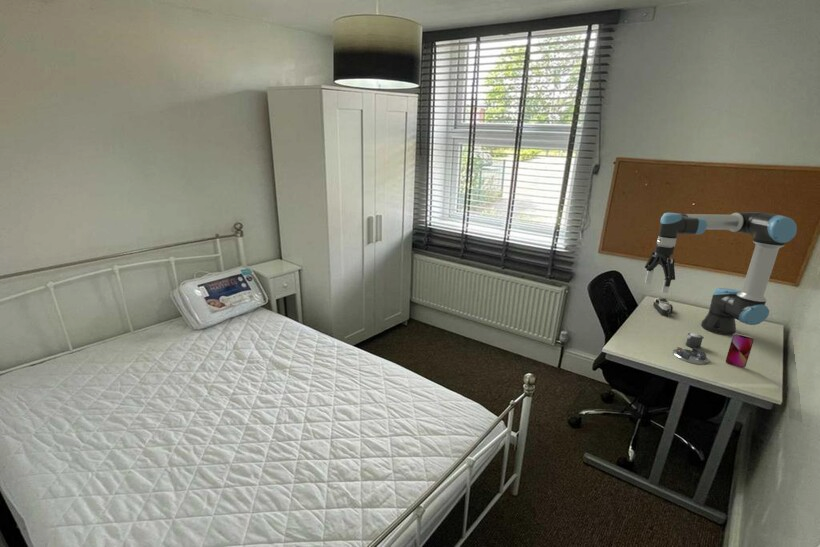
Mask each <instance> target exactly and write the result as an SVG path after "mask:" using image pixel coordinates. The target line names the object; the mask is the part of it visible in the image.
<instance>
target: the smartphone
mask: <svg viewBox="0 0 820 547" xmlns="http://www.w3.org/2000/svg"><path fill="white" fill-rule="evenodd" d="M754 341H755V339H754V337H752V336H749V335H744V334H740V333H737V332H735V334H733V335H732V338H731V340H730V343H729V347H728V351H727V355H726V357H725V363H726V364H728V365H732V366H736V367H739V368H743V369H744V368H745V367H746V366H747V364H748V360H749V357H750V354H751V351H752V348H753V344H754Z"/></svg>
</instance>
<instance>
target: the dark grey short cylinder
mask: <svg viewBox="0 0 820 547" xmlns="http://www.w3.org/2000/svg"><path fill="white" fill-rule="evenodd" d="M704 338H705V337H704V336H703V335H701V334H699V333H695V332H689V333H688V334H686V342H685V346H686V347H687V348H689V349H693V348H694V347H695V348H698V349H700V350H701V345H702V342H703V340H704Z"/></svg>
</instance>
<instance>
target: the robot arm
mask: <svg viewBox="0 0 820 547" xmlns="http://www.w3.org/2000/svg"><path fill="white" fill-rule="evenodd" d="M659 221H660V226H659V230H658V236H657V240H656V244H655V248H654V251H653V252H651V255H650V256H649V259H648V261H647V262H646V264H645V266H644V269H646V275H645V279H644V284H652V280H653V276H654V269H655V268H656V267H657V266H659V265H660V266H661V267H662V270H663V273H664V279H663V283H662V287H661V293H663V294H664V293H665V294H668V292H669V290H670V285H671V282H672V281H675V280H676V270H675V258H671V256H672V255H673V254H674V251H675V246H676V243H677V239H678V235H680V234H681V235H694V236H695V235H702V234H703V233H705V231H706V230H711V231H712V230H713V231H714V230H720V231H721V230H722V231H724V230H725V231H730V232H732V233H741V234H747V235H750V236H753V239H752V242H753V243H754V245H755V246H754V249H753V252H752V256H751V260H750V261H749V262H750V263H749V266H748V269H747V272H746V275H745V278H744V282H743V286H742V289H741V290H739V289H736V288H735V289H734V288H728V287H718V288H715V289H714V291H713V294H712V297H711V302H710V305H709V310H708V313H707V314H706V316H705V317H704V318H703V319H702V321H701V324H700V327H702V328H703V329H704V330H707V331H708V332H712V333H715V334H719V335H726V336H730V335H731V336H733V334H735V333H737V332H736V331H737V327H736V320H737V321H739V322H741V323H743V324H745V325H750V326H756V325H760V324H761V323H763V322H765V321H766V319H768V317H769V315H770V309H769V308H768V306H766V303H767V298H766V297H765V293H766V290H767V286H768V284H769V280H770V277H771V275H772V272H773V270H774V266H775V262H776V260H777V257H778V253H779V250H780V249H781V248H783V247H785V245H786V243H788V242H790V241H792V239H794V238H795V236H796V234H797V230H798V228H797V223H796V222H795V220H794V219H792V218H791V217H788V216H785V215H781V214H773V213H768V212H767V213H766V212H763V211H762V212H759V211H756V212H755V211H751V212H749V211H748V212H732V213H731V214H715V213H714V214H709V213H706V214H705V213H704V214H702V213H697V214H696V213H685V214H684V213H675V212H664V213H663V215H662V216H661V218H660V220H659Z"/></svg>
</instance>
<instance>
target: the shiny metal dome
mask: <svg viewBox="0 0 820 547" xmlns="http://www.w3.org/2000/svg"><path fill="white" fill-rule="evenodd" d="M672 355H673V356H674V357H675V358H677V359H679V360H681V361H684V362H686V363H690V364H695V365H706V364H708V363H709V358H708V357H707V353H706V352H705V351H704V350H703V349H701V348H700V349H698V348H695V347H694V348H691V349H686V348H682V347H678V346H677V347H676V349H673V351H672Z"/></svg>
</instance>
